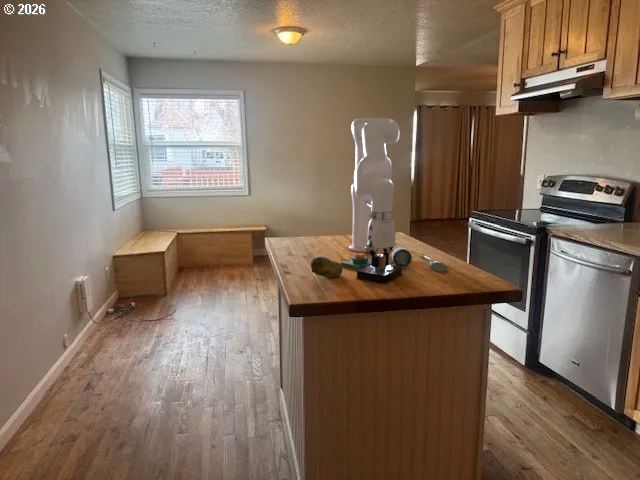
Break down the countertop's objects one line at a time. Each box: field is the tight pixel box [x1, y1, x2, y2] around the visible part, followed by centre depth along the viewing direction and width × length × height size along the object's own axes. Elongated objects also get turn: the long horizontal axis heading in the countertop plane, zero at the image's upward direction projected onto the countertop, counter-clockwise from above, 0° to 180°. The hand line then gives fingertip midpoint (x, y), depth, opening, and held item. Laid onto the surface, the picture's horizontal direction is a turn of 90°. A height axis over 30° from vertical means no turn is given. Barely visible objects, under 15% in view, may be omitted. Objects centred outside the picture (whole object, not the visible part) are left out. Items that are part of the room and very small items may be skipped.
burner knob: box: [374, 253, 386, 270], centre depth 159 cm, size 4×4×5 cm
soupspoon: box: [420, 253, 448, 273], centre depth 177 cm, size 22×3×7 cm
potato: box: [310, 256, 344, 279], centre depth 158 cm, size 8×13×8 cm, turn 108°
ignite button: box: [355, 252, 366, 259], centre depth 174 cm, size 4×4×2 cm
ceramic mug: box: [389, 246, 413, 269], centre depth 174 cm, size 11×8×8 cm
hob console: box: [356, 264, 403, 285], centre depth 160 cm, size 14×11×3 cm
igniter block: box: [340, 255, 372, 271], centre depth 175 cm, size 12×10×4 cm
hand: (380, 265), depth 159 cm, fingers closed on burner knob, 4 cm apart
